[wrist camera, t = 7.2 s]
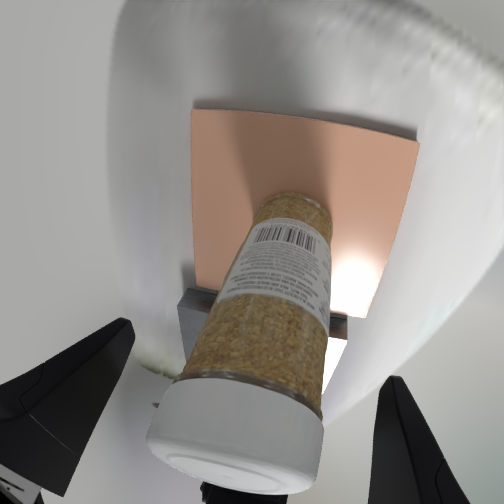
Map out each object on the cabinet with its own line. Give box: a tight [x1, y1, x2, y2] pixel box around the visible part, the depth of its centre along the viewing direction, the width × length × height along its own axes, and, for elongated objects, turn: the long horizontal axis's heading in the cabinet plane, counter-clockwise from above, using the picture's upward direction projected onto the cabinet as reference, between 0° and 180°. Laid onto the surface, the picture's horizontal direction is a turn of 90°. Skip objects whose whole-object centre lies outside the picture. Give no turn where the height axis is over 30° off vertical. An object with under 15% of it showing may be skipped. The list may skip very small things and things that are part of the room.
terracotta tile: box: [191, 109, 420, 318], centre depth 17 cm, size 12×12×1 cm
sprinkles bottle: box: [146, 192, 333, 495], centre depth 11 cm, size 5×5×14 cm
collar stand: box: [177, 289, 347, 394], centre depth 24 cm, size 12×12×2 cm
